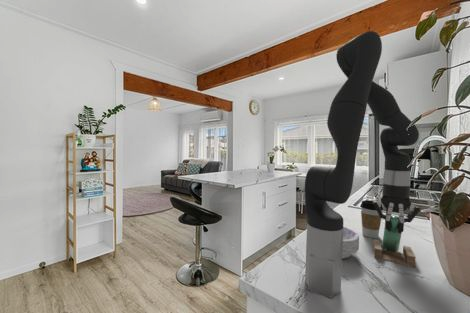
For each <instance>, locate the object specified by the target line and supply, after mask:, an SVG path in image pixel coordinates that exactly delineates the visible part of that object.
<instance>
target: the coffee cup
mask: <svg viewBox="0 0 470 313" xmlns="http://www.w3.org/2000/svg"><path fill="white" fill-rule="evenodd" d="M373 201H374V200H362V201H361V204H360V208H361V211H360V214H361V228H362V230H361V232H362V236H364V237H367V238H372V239H378V238H379V234H380V228H381V223H382V218H380V216H379V214H378V212H377V210H376V209H375V207H374V205H373ZM380 209H381V211H382V212H383V211H384V206H383V204H382V203H381V207H380Z"/></svg>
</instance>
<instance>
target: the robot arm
mask: <svg viewBox="0 0 470 313" xmlns="http://www.w3.org/2000/svg"><path fill="white" fill-rule="evenodd" d="M382 52H383V44H382V39H381V36H380V34H379V33H378V32H376V31H373V30H369V31H364V32H363V33H361V34H359V35H357V36H356V37H353V38H352V39H351V40H349V41H347V42H345V43H344V44H343V45H341V46H340V47H339V48H338V49H337V51H336V57H335V58H336V62H337V64H338V67H339V69H340V70H341V72H342V73H343V74H344V76H345V77H346V78H347V79H346V80H345V81H344V84H343V85H342V86H341V87H340V88H339V90H338V91H337V92H336V94H335V95H334V97H333V100H332V101H331V104H330V108H329V112H328V115H327V116H328V117H327V120H326V122H327V124H326V125H327V128H328V131H329V133H330V136H331V138H332V139H333V143H334V144H335V147H336V151H337V154H336V155H337V156H336V157H337V159H336V164H335V166H334V167H332V166H331V167H330V166H321V165H315V166H312V167H310V168H309V169H308V171H307V173H306V176H305V178H304V208H305V209H304V211H305V215H306V240H305V241H306V242H305V244H306V245H305V246H306V247H305V248H306V250H305V277H304V278H305V279H304V280H305V284H306V286H307V291H310V292H313V293H316V294H318V295H319V294H320V295H322V296H324V297H328V298H330V299H333V298H334V296H336V295H339V293H340V292H341V291H342V270H343V269H342V267H343V266H342V265H343V259H342V244H343V227H344V217H343V216H342V215H341V214H340V213H339V212H337V211H336V210H334V209H333V208H332V207H330V204H328V203H327V202H329V203H334V204H338V205H343V204H346V202H348V200H349V198H350V196H351V194H352V188H353V184H354V176H355V168H356V159H357V152H358V146H359V142H360V136H361V133H362V128H363V124H364V121H365V116H366V113H367V112H366V111H367V106H368V107H369V109H370V111H371V113H372V114H373V116H374V118H375V120H376V121H377V123H378V124H379V125H381V126H385V127H384V128H383V129H382V131H381V132H380V134H379V135H380V136H379V140H380V145H381V149H382V153H383V155H384V156H383V157H384V169H383V170H384V171H383V175H382V176H383V177H382V196H381V198H380V200H372V201H373V205H374V207H375V209H376V210H377V212H378V214H379V216H380V218H381V219H383V220H384V228H386V229H387V231H390V225H391V221H390V218H391V216H392V214H393V213H397V214H398V216H397V217H399V223H398V233H401V232H402V233H403V232H404V231H405V230H404V227H405V223H411V222H413V220H414V219H415V217H416V216H417V215H418V214H419V212H420V211H421V208H420V207H419V206H418V205H415V204H413V203H412V201H411V200H410V197H411V196H410V195H411V155H410V154H408V153H405V152H402V151H400V149H399V147H409V146H414V144H416V143H417V142H418V140H419V136H420V135H419V134H420V133H419V129H418V128H417V126H416V125H415V124H414V125H413V126H411V127H409V128H408V131H407V130H406V128H407V127H408V126H409V124H410V123H411V122H412V120H411V119H410V118H409V117H408V116H407V115H405V113H403V112H402V111H401V108H400V107H399V104H398V102H397V100H396V98H395V97H394V95H393V94H392V93H391V92H390V91H389V90H388V89H387V88H385V87H383V86H381V85H379V83H376V82H374V77H375V74H376V71H377V68H378V65H379V64H380V61H381V60H380V59H381V56H382ZM408 134H409V135H408ZM409 164H410V166H409V167H408V168H407V166H408V165H409ZM381 204H382V206H383V207H384V208H385V209H386V210H385V214H384V213H383V210H382V211H381V209H380V207H381ZM408 209H410V211H409V212H408V213H407V215H406V216H405V213H404V212H406V210H408Z"/></svg>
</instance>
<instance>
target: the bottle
mask: <svg viewBox="0 0 470 313" xmlns="http://www.w3.org/2000/svg"><path fill="white" fill-rule="evenodd" d="M390 221H391V225H390V231H387V229H386V228H385V227H384V228H383V230H384V231H383V237H382V238H383V239H382V247H383V249H384V250H388V251H393V252H397V253H398V251H399V250H400V245H401V238H402V233H403V232H401V233H398V223H399V216H397V215H395V214H394V215H391V218H390Z"/></svg>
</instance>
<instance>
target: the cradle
mask: <svg viewBox="0 0 470 313" xmlns="http://www.w3.org/2000/svg"><path fill="white" fill-rule="evenodd" d="M373 255H374V259H375V258H376V259H380V260H384V261H389V262H393V263H396V264H401V265H404V266H405V265H406V266H410V267H414V268H415V267H416V255H415V253H414V251H413V249H412V247H411V246H409V245H408V246H406V245H403V249H402V252H398V251H397V252H393V251H388V250H386V249H384V248H382V245H381V240H377V239H373Z"/></svg>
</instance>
